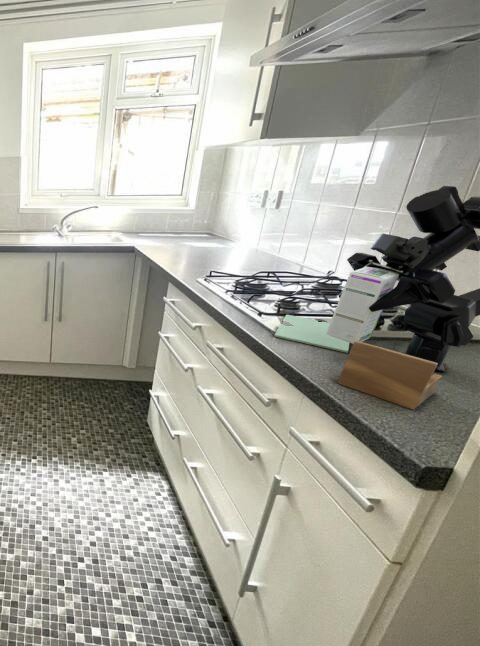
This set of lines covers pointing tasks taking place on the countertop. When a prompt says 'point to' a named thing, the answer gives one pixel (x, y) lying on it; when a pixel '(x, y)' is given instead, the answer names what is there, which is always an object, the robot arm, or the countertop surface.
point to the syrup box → (360, 304)
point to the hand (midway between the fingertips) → (354, 303)
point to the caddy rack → (389, 375)
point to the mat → (310, 333)
